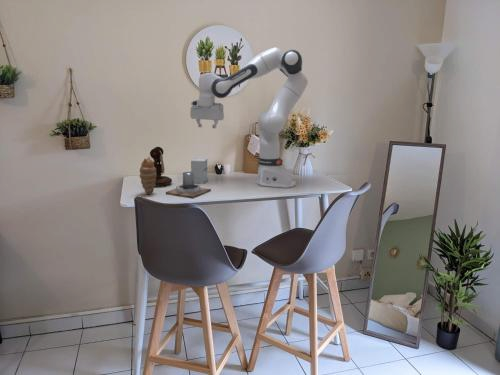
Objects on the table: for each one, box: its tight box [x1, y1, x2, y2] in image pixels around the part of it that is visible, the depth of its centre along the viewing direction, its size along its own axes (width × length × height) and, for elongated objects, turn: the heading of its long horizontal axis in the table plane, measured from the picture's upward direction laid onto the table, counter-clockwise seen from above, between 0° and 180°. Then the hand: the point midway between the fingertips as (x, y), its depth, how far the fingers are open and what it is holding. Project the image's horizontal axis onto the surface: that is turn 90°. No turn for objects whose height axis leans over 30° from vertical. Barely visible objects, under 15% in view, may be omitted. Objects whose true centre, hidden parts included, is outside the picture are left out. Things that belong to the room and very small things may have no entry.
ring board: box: [165, 183, 212, 199], centre depth 197 cm, size 16×16×3 cm
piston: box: [182, 171, 195, 189], centre depth 196 cm, size 6×6×9 cm
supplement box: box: [190, 158, 208, 185], centre depth 218 cm, size 7×7×13 cm
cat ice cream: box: [139, 156, 157, 195], centre depth 191 cm, size 9×8×18 cm
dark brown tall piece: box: [149, 146, 173, 188], centre depth 210 cm, size 15×15×20 cm
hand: (207, 127), depth 222 cm, fingers open, 8 cm apart
